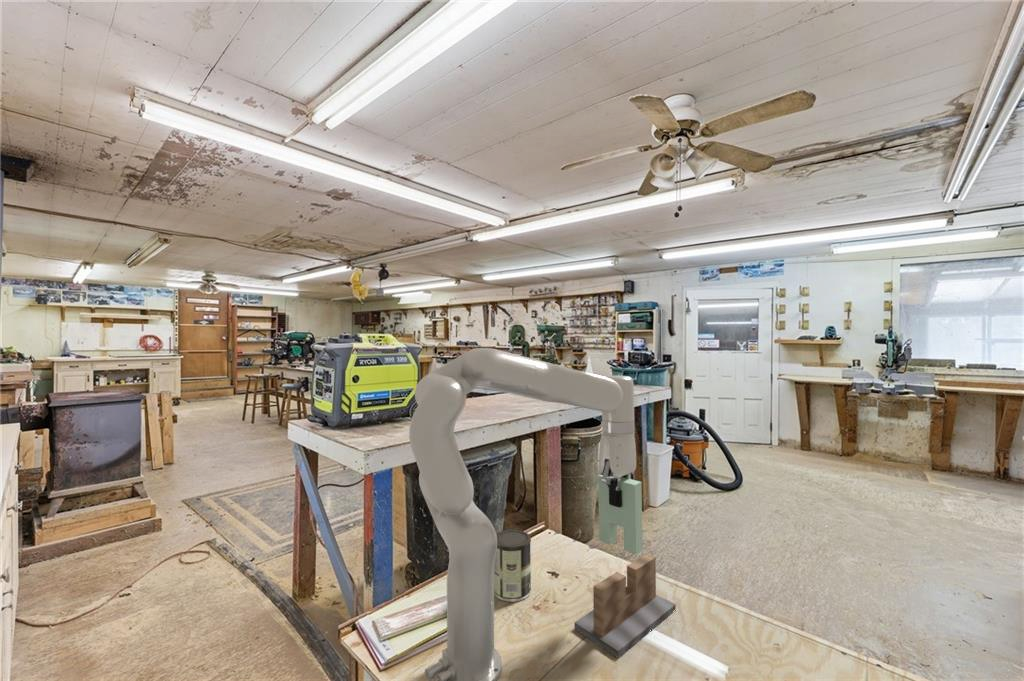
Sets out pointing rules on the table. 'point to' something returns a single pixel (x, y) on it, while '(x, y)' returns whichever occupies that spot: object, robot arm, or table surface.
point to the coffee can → (512, 566)
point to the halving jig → (625, 608)
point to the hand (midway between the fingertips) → (619, 502)
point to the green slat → (621, 514)
